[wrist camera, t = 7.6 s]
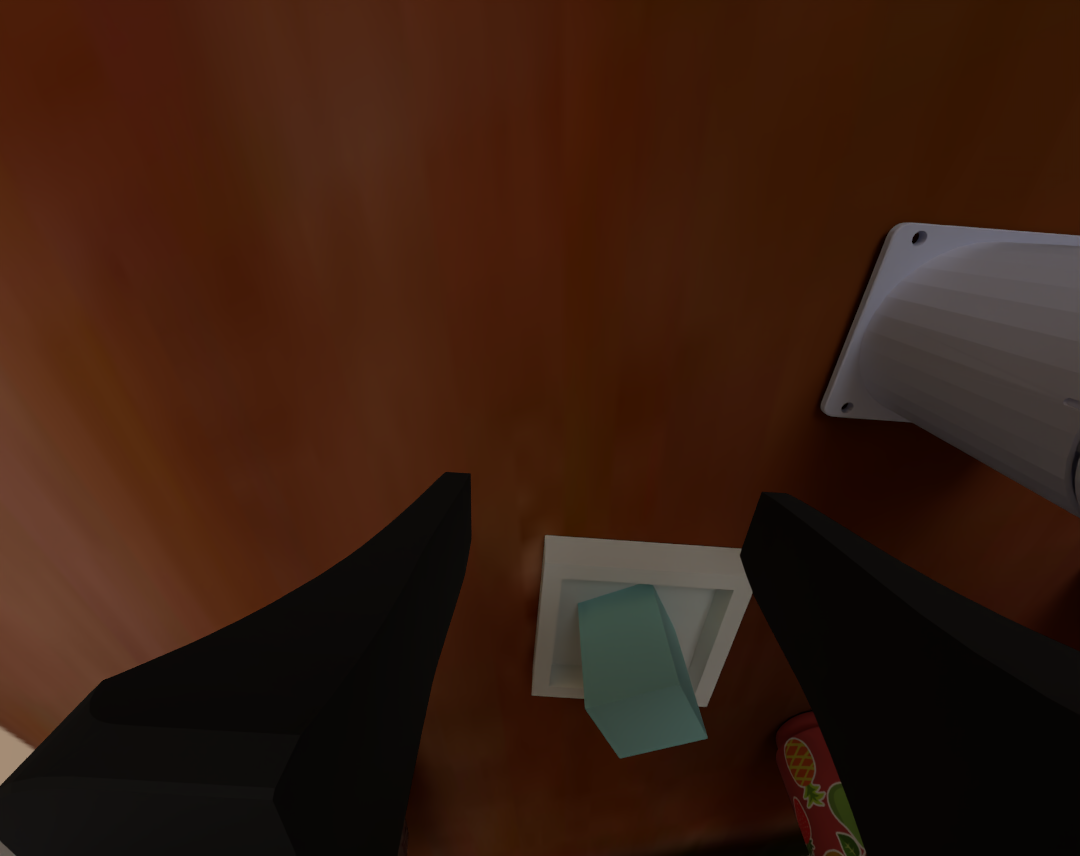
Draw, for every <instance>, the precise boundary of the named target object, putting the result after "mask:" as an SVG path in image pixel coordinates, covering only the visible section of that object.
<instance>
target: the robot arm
mask: <svg viewBox="0 0 1080 856" xmlns="http://www.w3.org/2000/svg"><path fill="white" fill-rule="evenodd" d="M917 232H918V233H919V238H918V240H917V241H916V242H915V243H914V244H913V243H912V238H913V236H914V235H915V234H916V233H917ZM845 403H848V405H847V407H846V408H844V409H841V408H842V406H843V405H844V404H845ZM820 407H821V411H823V412H824V413H825V414H826V415H828V416H831V417H844V418H857V419H871V420H885V421H899V422H912V423H914V424H916V425H917V426H919V427H921V428H923V429H924V430H926V431H928V432H930V433H931V434H933V435H935V436H937V437H938V438H940V439H942V440H944V441H945V442H947V443H949V444H951V445H952V446H954V447H956V448H958V449H960V450H961V451H963V452H965V453H967V454H968V455H970V456H972V457H974V458H975V459H977V460H979V461H981V462H982V463H984V464H986V465H988V466H989V467H991V468H993V469H995V470H996V471H998V472H1000V473H1002V474H1003V475H1005V476H1007V477H1009V478H1010V479H1012V480H1014V481H1016V482H1017V483H1019V484H1021V485H1023V486H1025V487H1026V488H1028V489H1030V490H1032V491H1033V492H1035V493H1037V494H1039V495H1040V496H1042V497H1044V498H1046V499H1047V500H1049V501H1051V502H1053V503H1054V504H1056V505H1058V506H1060V507H1061V508H1063V509H1065V510H1067V511H1068V512H1070V513H1072V514H1074V515H1075V516H1077V517H1079V518H1080V236H1076V235H1063V234H1050V233H1037V232H1024V231H1012V230H999V229H986V228H973V227H960V226H947V225H934V224H921V223H900V224H898V225H896V226H894V227H893V228H892V229H891V230H890V231H889V233H888V235H887V237H886V239H885V242H884V244H883V247H882V250H881V252H880V255H879V257H878V260H877V262H876V265H875V267H874V270H873V272H872V275H871V278H870V280H869V283H868V285H867V288H866V290H865V293H864V295H863V298H862V300H861V303H860V305H859V308H858V311H857V313H856V316H855V318H854V321H853V323H852V326H851V328H850V331H849V333H848V336H847V339H846V341H845V344H844V346H843V349H842V351H841V354H840V356H839V359H838V361H837V364H836V367H835V369H834V372H833V374H832V377H831V379H830V382H829V384H828V387H827V389H826V392H825V394H824V397H823V400H822V402H821V406H820ZM470 544H471V476H470V474H469V473H453V472H445V473H444V474H443V475H442V476H441V477H440V478H438V479H437V480H436V481H435V482H434V483H433V484H432V485H431V486H430V487H429V488H428V489H427V490H426V491H425V492H424V493H423V494H422V495H421V496H420V497H419V498H418V499H417V500H416V501H415V502H413V503H412V504H411V505H410V506H409V507H408V508H407V509H406V510H405V511H404V512H402V513H401V514H400V515H399V516H398V517H397V518H396V519H395V520H393V521H392V522H391V523H390V524H389V525H388V526H386V527H385V528H384V529H383V530H381V531H380V532H379V533H378V534H376V535H375V536H374V537H373V538H372V539H370V540H369V541H368V542H367V543H365V544H364V545H363V546H361V547H360V548H359V549H357V550H356V551H355V552H353V553H352V554H351V555H349V556H348V557H346V558H345V559H343V560H342V561H340V562H339V563H337V564H336V565H334V566H333V567H331V568H330V569H328V570H327V571H325V572H324V573H322V574H321V575H319V576H318V577H316V578H314V579H312V580H311V581H309V582H307V583H306V584H304V585H302V586H300V587H299V588H297V589H295V590H294V591H292V592H290V593H288V594H287V595H285V596H283V597H282V598H280V599H278V600H276V601H275V602H273V603H271V604H269V605H267V606H266V607H264V608H262V609H260V610H258V611H256V612H254V613H252V614H250V615H248V616H246V617H244V618H243V619H241V620H239V621H237V622H235V623H232V624H230V625H228V626H226V627H224V628H222V629H220V630H218V631H216V632H214V633H212V634H210V635H208V636H206V637H203V638H201V639H199V640H197V641H195V642H193V643H190V644H188V645H186V646H184V647H181V648H179V649H177V650H174V651H172V652H170V653H167V654H165V655H163V656H160V657H158V658H156V659H153V660H151V661H149V662H146V663H144V664H141V665H139V666H137V667H134V668H132V669H130V670H127V671H125V672H123V673H120V674H118V675H115V676H113V677H110V678H108V679H105V680H103V681H102V682H101V683H100V684H99V685H98V686H97V687H96V688H95V689H94V690H93V691H92V692H91V693H90V694H89V695H88V696H87V697H86V698H85V699H84V700H83V701H82V702H81V703H80V704H79V705H78V706H77V707H76V708H75V709H74V710H73V711H72V712H71V713H70V714H69V715H68V716H67V717H66V718H65V719H64V720H63V721H62V723H61V724H60V725H59V726H58V727H57V728H56V729H55V730H54V731H53V732H52V733H51V734H50V735H49V736H48V737H47V738H46V739H45V740H44V741H43V742H42V743H41V744H40V745H39V746H38V747H37V748H36V749H35V750H34V751H33V752H32V754H31V755H30V756H29V757H28V758H27V759H26V760H25V761H24V762H23V763H22V764H21V765H20V766H19V767H18V768H17V769H16V770H15V771H14V772H13V773H12V774H11V775H10V776H9V777H8V778H7V779H6V780H5V781H4V783H2V785H1V786H0V841H1V843H3V844H4V845H5V846H6V847H7V848H8V849H9V850H10V851H11V852H12V853H13V854H14V855H16V856H398V851H399V846H400V840H401V835H402V830H403V825H404V820H405V814H406V809H407V804H408V799H409V793H410V788H411V783H412V778H413V773H414V768H415V763H416V758H417V754H418V749H419V744H420V739H421V734H422V729H423V724H424V720H425V715H426V710H427V705H428V701H429V696H430V691H431V687H432V682H433V679H434V675H435V671H436V667H437V664H438V660H439V657H440V654H441V651H442V647H443V644H444V641H445V638H446V635H447V631H448V628H449V625H450V622H451V619H452V615H453V612H454V609H455V606H456V602H457V599H458V596H459V593H460V589H461V586H462V583H463V579H464V576H465V571H466V566H467V561H468V555H469V550H470ZM740 558H741V561H742V564H743V567H744V570H745V573H746V576H747V579H748V581H749V584H750V587H751V589H752V592H753V594H754V596H755V598H756V600H757V602H758V604H759V606H760V608H761V610H762V612H763V614H764V616H765V618H766V620H767V622H768V624H769V626H770V628H771V630H772V632H773V633H774V635H775V637H776V639H777V641H778V643H779V645H780V647H781V649H782V651H783V653H784V654H785V656H786V658H787V660H788V662H789V664H790V666H791V668H792V670H793V672H794V673H795V675H796V677H797V679H798V681H799V683H800V685H801V687H802V689H803V691H804V693H805V695H806V698H807V700H808V702H809V704H810V706H811V708H812V711H813V713H814V716H815V718H816V721H817V723H818V725H819V728H820V730H821V733H822V735H823V738H824V740H825V743H826V745H827V747H828V750H829V752H830V755H831V757H832V760H833V763H834V765H835V768H836V771H837V773H838V776H839V779H840V781H841V784H842V787H843V789H844V792H845V794H846V797H847V800H848V802H849V805H850V808H851V810H852V813H853V816H854V819H855V822H856V825H857V828H858V831H859V834H860V837H861V840H862V842H863V845H864V848H865V851H866V854H867V856H1080V651H1077V650H1075V649H1073V648H1071V647H1068V646H1066V645H1064V644H1062V643H1060V642H1057V641H1055V640H1053V639H1051V638H1048V637H1046V636H1044V635H1042V634H1039V633H1037V632H1035V631H1033V630H1031V629H1029V628H1026V627H1024V626H1022V625H1020V624H1018V623H1016V622H1014V621H1012V620H1009V619H1007V618H1005V617H1003V616H1001V615H999V614H997V613H995V612H993V611H991V610H989V609H987V608H985V607H983V606H981V605H980V604H978V603H976V602H974V601H972V600H970V599H968V598H966V597H964V596H962V595H960V594H958V593H956V592H954V591H952V590H950V589H949V588H947V587H945V586H943V585H941V584H939V583H937V582H936V581H934V580H932V579H930V578H929V577H927V576H925V575H923V574H922V573H920V572H918V571H916V570H915V569H913V568H911V567H909V566H908V565H906V564H904V563H902V562H901V561H899V560H897V559H896V558H894V557H892V556H890V555H889V554H887V553H885V552H884V551H882V550H880V549H879V548H877V547H876V546H874V545H872V544H871V543H869V542H867V541H866V540H864V539H863V538H861V537H859V536H858V535H856V534H854V533H853V532H851V531H850V530H848V529H846V528H845V527H843V526H842V525H840V524H838V523H837V522H835V521H834V520H832V519H830V518H829V517H827V516H826V515H824V514H822V513H821V512H819V511H817V510H816V509H814V508H812V507H811V506H809V505H807V504H806V503H804V502H802V501H800V500H798V499H797V498H795V497H793V496H791V495H789V494H787V493H772V492H762V493H761V496H760V499H759V501H758V504H757V507H756V510H755V513H754V516H753V518H752V521H751V524H750V527H749V530H748V533H747V535H746V538H745V541H744V544H743V547H742V550H741V553H740Z"/></svg>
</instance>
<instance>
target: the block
mask: <svg viewBox="0 0 1080 856" xmlns="http://www.w3.org/2000/svg"><path fill="white" fill-rule="evenodd" d="M578 616H579V630H580V644H581V659H582V673H583V688H584V702H585V710H586V711H587V712H588V714H589V715H590V717H591V718H592V720H593V721H594V722H595V724H596V725H597V727H598V728H599V730H600V731H601V732H602V734H603V735H604V737H605V738H606V740H607V741H608V742H609V744H610V745H611V747H612V748H613V750H614V751H615V752H616V754H617V755H618V757H619V758H624V757H629V756H633V755H637V754H642V753H646V752H651V751H655V750H659V749H664V748H668V747H672V746H677V745H681V744H686V743H690V742H694V741H699V740H703V739H708V737H707V734H706V730H705V727H704V724H703V721H702V717H701V714H700V711H699V707H698V704H697V701H696V697H695V694H694V691H693V687H692V684H691V681H690V677H689V674H688V671H687V667H686V664H685V661H684V657H683V654H682V651H681V648H680V644H679V641H678V638H677V634H676V631H675V629H674V627H673V624H672V622H671V620H670V618H669V616H668V614H667V612H666V610H665V608H664V606H663V604H662V602H661V600H660V598H659V596H658V594H657V592H656V590H655V588H654V586H653V585H650V584H637V585H634V586H631V587H628V588H625V589H621V590H618V591H615V592H612V593H609V594H606V595H602V596H599V597H596V598H593V599H590V600H587V601H583V602H580V603H578Z"/></svg>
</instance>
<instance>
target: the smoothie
mask: <svg viewBox="0 0 1080 856" xmlns="http://www.w3.org/2000/svg"><path fill="white" fill-rule="evenodd" d="M775 740H776V744H777V747H778V750H777V754H776V762H777V765H778V768H779V771H780V773H781V776H782V779H783V782H784V785H785V787H786V790H787V793H788V796H789V799H790V801H791V804H792V807H793V810H794V813H795V815H796V818H797V821H798V824H799V827H800V829H801V832H802V835H803V838H804V841H805V843H806V846H807V849H808V852H809V855H810V856H867V854H866V851H865V848H864V845H863V842H862V840H861V837H860V834H859V831H858V828H857V825H856V822H855V819H854V816H853V813H852V810H851V808H850V805H849V802H848V800H847V797H846V794H845V792H844V789H843V787H842V784H841V781H840V779H839V776H838V773H837V771H836V768H835V765H834V763H833V760H832V757H831V755H830V752H829V750H828V747H827V745H826V743H825V740H824V738H823V735H822V733H821V730H820V728H819V725H818V723H817V721H816V718H815V716H814V713H813V711H810V712H806V713H802V714H800V715H797V716H795V717H793V718H791V719H790V720H788V721H787V722H786V723H784V724H783V725H782V726H781V727H780V729H779V730H778V731H777V733H776V739H775Z"/></svg>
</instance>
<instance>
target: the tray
mask: <svg viewBox="0 0 1080 856" xmlns="http://www.w3.org/2000/svg"><path fill="white" fill-rule="evenodd" d="M741 550H742V549H738V548H723V547H709V546H695V545H680V544H666V543H651V542H637V541H622V540H608V539H593V538H579V537H564V536H550V535H545V542H544V552H543V563H542V573H541V584H540V594H539V605H538V615H537V626H536V636H535V647H534V657H533V674H532V695H533V696H548V697H563V698H579V699H584V688H583V673H582V659H581V644H580V630H579V616H578V603H580V602H583V601H587V600H590V599H593V598H596V597H599V596H602V595H606V594H609V593H612V592H615V591H618V590H621V589H625V588H628V587H631V586H634V585H637V584H650V585H653V586H654V588H655V590H656V592H657V594H658V596H659V598H660V600H661V602H662V604H663V606H664V608H665V610H666V612H667V614H668V616H669V618H670V620H671V622H672V624H673V627H674V629H675V631H676V634H677V638H678V641H679V644H680V648H681V651H682V654H683V657H684V661H685V664H686V667H687V671H688V674H689V677H690V681H691V684H692V687H693V691H694V694H695V697H696V701H697V704H698V706H701V707H707V705H708V702H709V700H710V697H711V695H712V692H713V690H714V687H715V685H716V682H717V680H718V677H719V675H720V672H721V670H722V668H723V665H724V663H725V660H726V658H727V655H728V653H729V650H730V648H731V645H732V643H733V640H734V638H735V635H736V633H737V630H738V628H739V625H740V623H741V620H742V618H743V615H744V613H745V610H746V608H747V605H748V603H749V600H750V598H751V595H752V593H753V592H752V589H751V587H750V584H749V581H748V579H747V576H746V573H745V570H744V567H743V564H742V561H741V558H740V553H741Z"/></svg>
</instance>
